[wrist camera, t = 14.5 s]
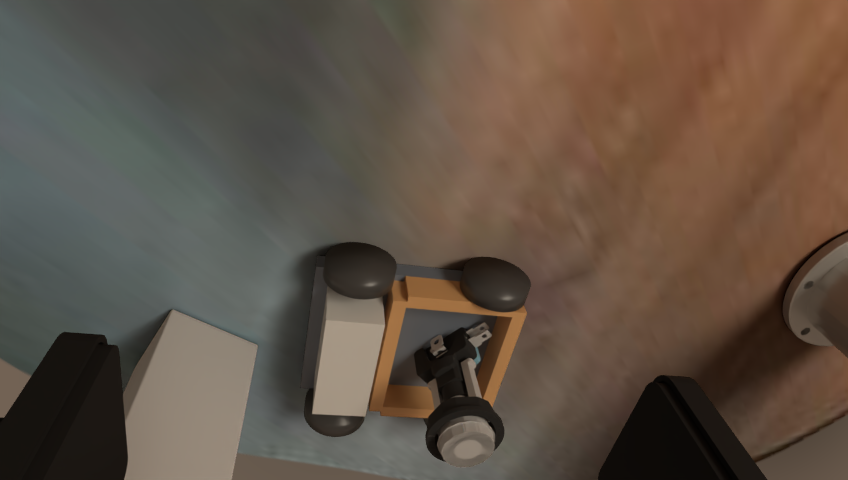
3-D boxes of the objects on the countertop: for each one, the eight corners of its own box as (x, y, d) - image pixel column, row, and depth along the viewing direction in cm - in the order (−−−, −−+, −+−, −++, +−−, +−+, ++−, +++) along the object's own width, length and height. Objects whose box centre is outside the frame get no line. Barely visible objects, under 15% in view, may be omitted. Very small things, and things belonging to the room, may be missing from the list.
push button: (467, 300, 43) (497, 399, 35) (503, 340, 46) (539, 440, 37) (399, 344, 45) (411, 449, 36) (437, 380, 47) (457, 486, 39)
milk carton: (259, 343, 45) (210, 593, 29) (218, 398, 47) (152, 656, 31) (172, 306, 42) (64, 560, 26) (134, 367, 45) (14, 633, 28)
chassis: (526, 261, 44) (548, 304, 39) (478, 398, 51) (491, 448, 46) (319, 238, 40) (315, 282, 36) (299, 387, 48) (294, 440, 43)
